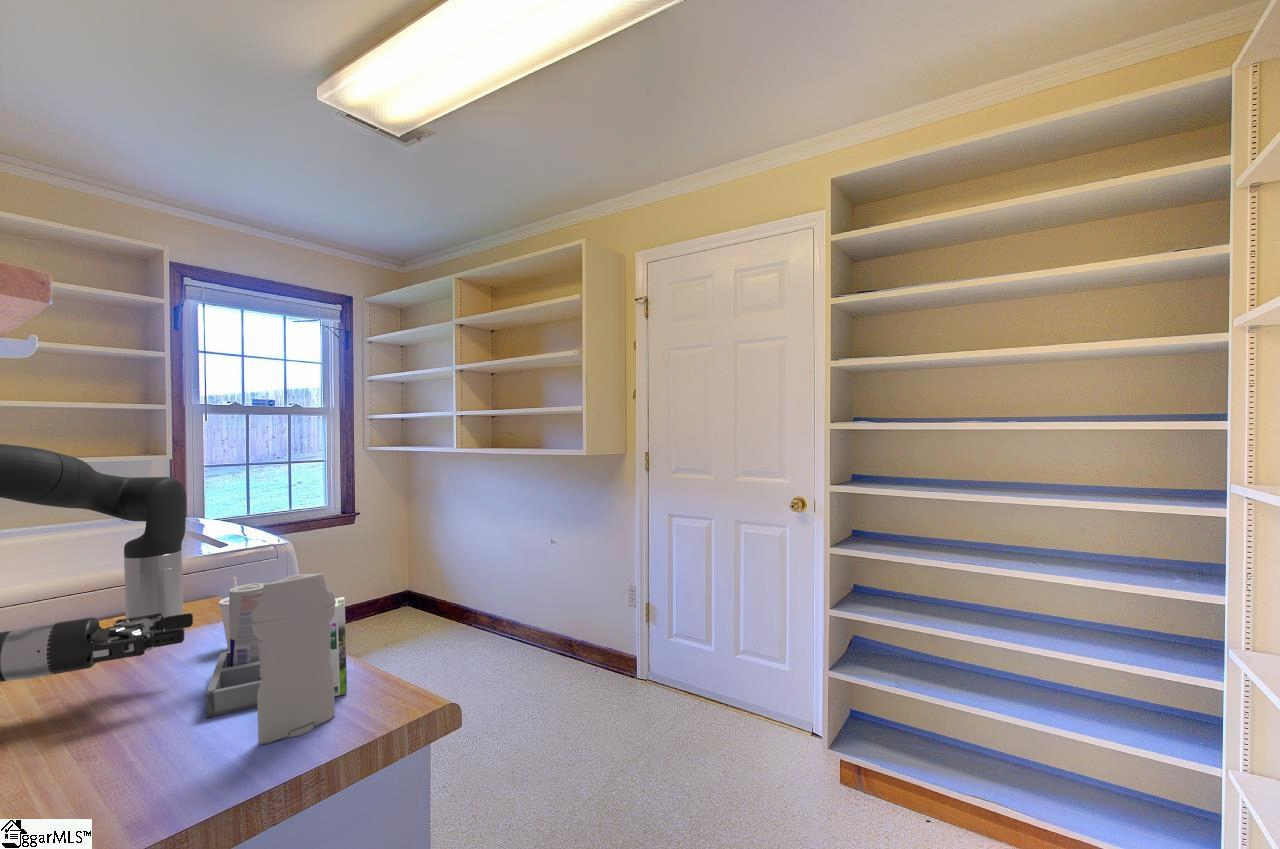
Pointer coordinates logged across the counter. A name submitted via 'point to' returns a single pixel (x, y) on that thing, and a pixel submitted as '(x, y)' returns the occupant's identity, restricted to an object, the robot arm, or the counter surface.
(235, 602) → the beverage can
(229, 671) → the gray divided tray
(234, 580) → the smoothie
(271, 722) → the grey flat bottle
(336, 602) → the syrup box
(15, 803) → the counter surface
